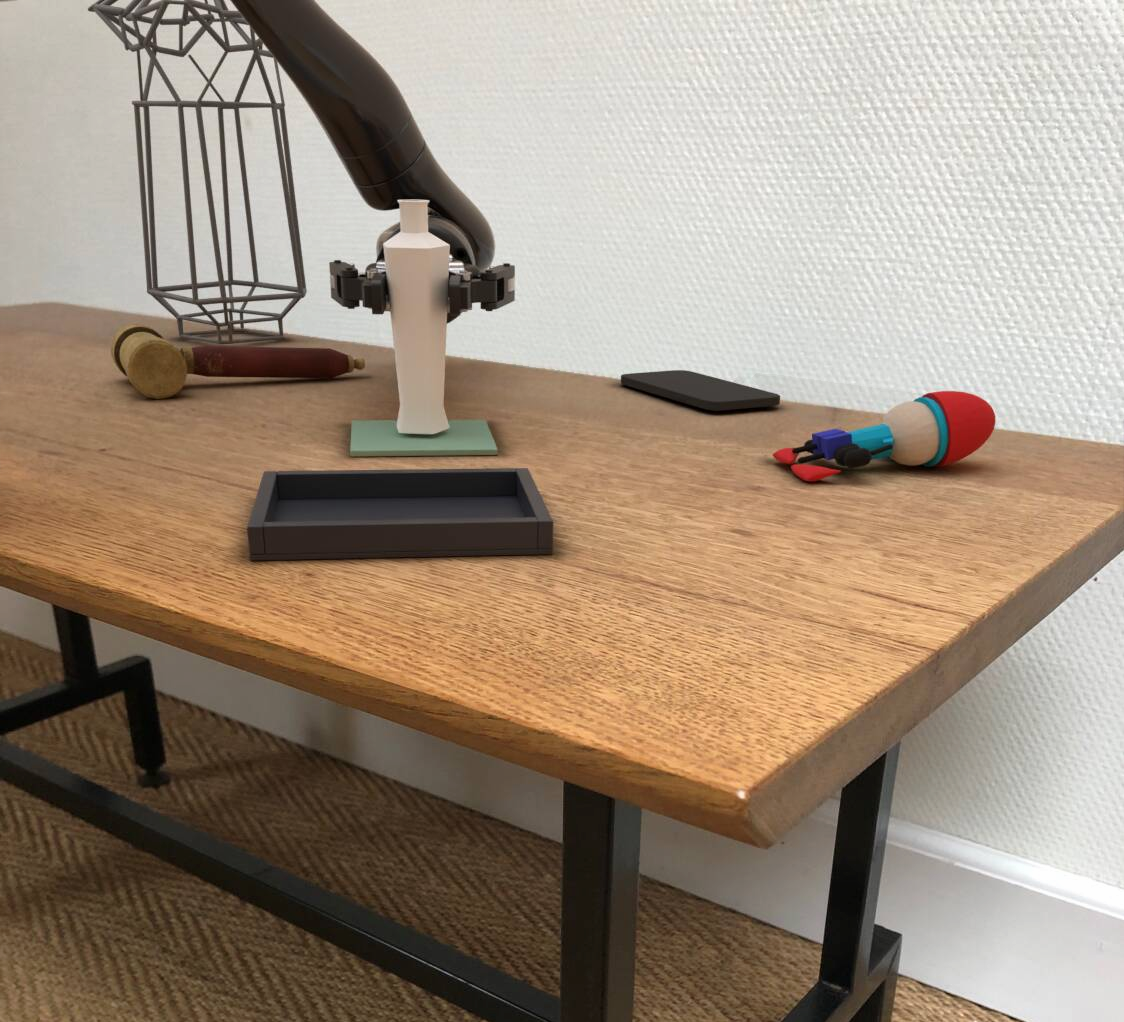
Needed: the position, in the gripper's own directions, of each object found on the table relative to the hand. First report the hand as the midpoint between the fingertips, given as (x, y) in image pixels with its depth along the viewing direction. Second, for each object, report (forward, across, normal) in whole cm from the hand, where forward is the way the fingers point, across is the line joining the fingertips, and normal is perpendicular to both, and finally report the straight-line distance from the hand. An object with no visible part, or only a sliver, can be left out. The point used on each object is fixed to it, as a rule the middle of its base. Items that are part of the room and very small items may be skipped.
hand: (416, 298), depth 84 cm
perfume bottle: (-3, 0, +9) cm, 10 cm away
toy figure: (+5, +32, +10) cm, 34 cm away
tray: (+20, 0, +10) cm, 22 cm away
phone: (-21, +22, +10) cm, 32 cm away
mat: (-3, 0, +10) cm, 10 cm away
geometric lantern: (-49, -22, +11) cm, 55 cm away
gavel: (-24, -16, +10) cm, 31 cm away
